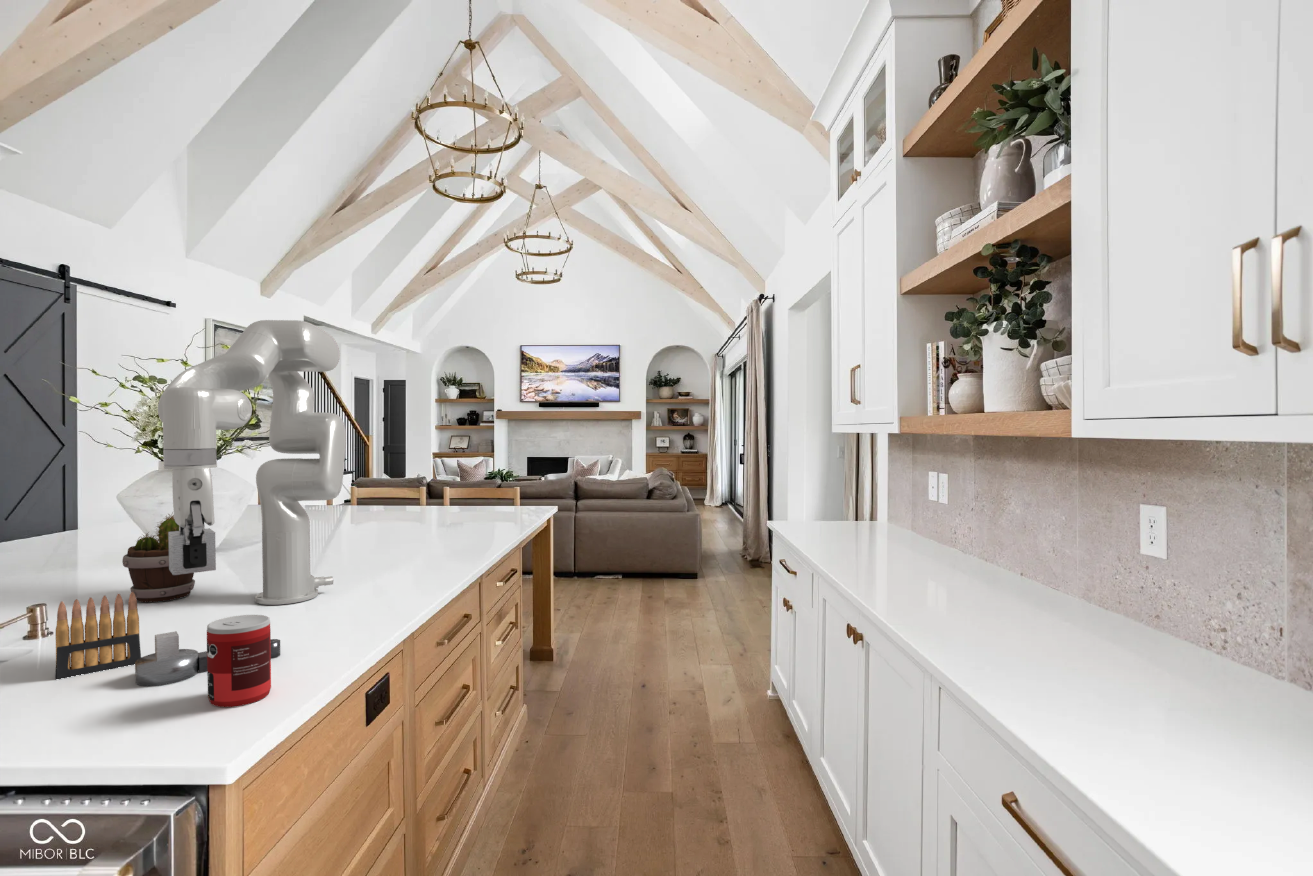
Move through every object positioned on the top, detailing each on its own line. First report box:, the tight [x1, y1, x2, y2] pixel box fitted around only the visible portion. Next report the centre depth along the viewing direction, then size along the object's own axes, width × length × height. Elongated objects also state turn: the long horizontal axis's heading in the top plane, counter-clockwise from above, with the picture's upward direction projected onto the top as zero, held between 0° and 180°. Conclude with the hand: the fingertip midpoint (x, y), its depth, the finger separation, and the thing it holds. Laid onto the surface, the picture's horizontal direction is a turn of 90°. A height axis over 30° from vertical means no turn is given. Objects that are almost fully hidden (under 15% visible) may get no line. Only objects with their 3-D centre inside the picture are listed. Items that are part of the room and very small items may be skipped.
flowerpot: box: [122, 511, 196, 603], centre depth 156 cm, size 14×15×20 cm
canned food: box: [206, 614, 272, 708], centre depth 99 cm, size 8×8×11 cm
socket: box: [168, 527, 217, 575], centre depth 118 cm, size 6×6×7 cm
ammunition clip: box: [54, 591, 142, 680], centre depth 110 cm, size 11×2×12 cm, turn 133°
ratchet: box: [134, 630, 281, 687], centre depth 111 cm, size 20×8×6 cm, turn 131°
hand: (192, 563), depth 118 cm, fingers closed on socket, 6 cm apart
